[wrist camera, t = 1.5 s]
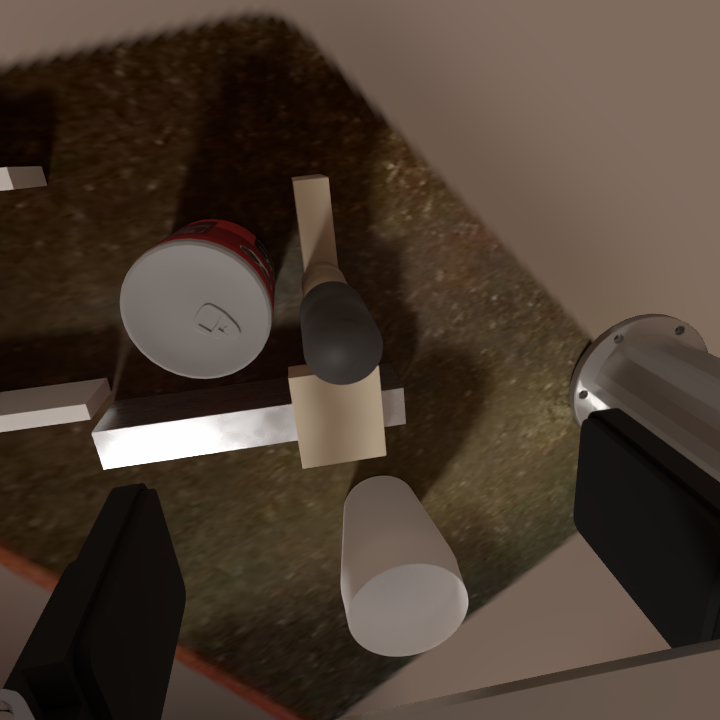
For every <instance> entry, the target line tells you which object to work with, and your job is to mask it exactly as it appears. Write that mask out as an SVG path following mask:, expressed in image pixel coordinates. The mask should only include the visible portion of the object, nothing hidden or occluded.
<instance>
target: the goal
mask: <svg viewBox="0 0 720 720" xmlns="http://www.w3.org/2000/svg"><path fill="white" fill-rule="evenodd" d="M39 186H47V183H46V179H45V176H44V173H43V170H42V166H32V167H3V168H0V191H1V190H12V189H21V188H30V187H39ZM110 393H111V390H110V386H109V383H108V380H107V378H102V379H95V380H87V381H80V382H72V383H65V384H57V385H50V386H43V387H35V388H28V389H20V390H13V391H5V392H0V432H5V431H12V430H19V429H26V428H33V427H40V426H47V425H54V424H61V423H69V422H76V421H83V420H90V419H91V418H92V417H93V416H94V414H95V413H96V412H97V410H98V409H99V408H100V406H101V405H102V404H103V402H104V401H105V400H106V398H107V397H108V395H109V394H110Z"/></svg>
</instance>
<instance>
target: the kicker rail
mask: <svg viewBox="0 0 720 720" xmlns="http://www.w3.org/2000/svg"><path fill="white" fill-rule="evenodd" d="M378 365H379V374H380V385H381V397H382V409H383V421H384V427H388V426H395V425H401V424H406V418H405V403H404V388H403V386H402V384H401V382H400V380H399V378H398V376H397V374H396V373H395V371H394V369H393V367H392V365H391V363H384V364H378ZM92 436H93V439H94V442H95V445H96V448H97V451H98V454H99V457H100V460H101V463H102V466H103V469H110V468H117V467H123V466H130V465H137V464H143V463H150V462H156V461H163V460H170V459H176V458H183V457H190V456H196V455H203V454H209V453H216V452H223V451H229V450H236V449H243V448H249V447H256V446H262V445H269V444H276V443H282V442H289V441H296V440H298V436H297V430H296V424H295V417H294V411H293V405H292V399H291V392H290V386H289V380H288V377H284V378H276V379H269V380H262V381H255V382H248V383H240V384H233V385H226V386H219V387H212V388H205V389H197V390H190V391H183V392H176V393H169V394H161V395H154V396H147V397H140V398H133V399H125V400H118V401H114V402H113V403H112V405H111V406H110V408H109V409H108V410H107V412H106V413H105V415H104V416H103V417H102V419H101V420H100V422H99V423H98V424H97V426H96V427H95V429H94V430H93V432H92Z"/></svg>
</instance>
